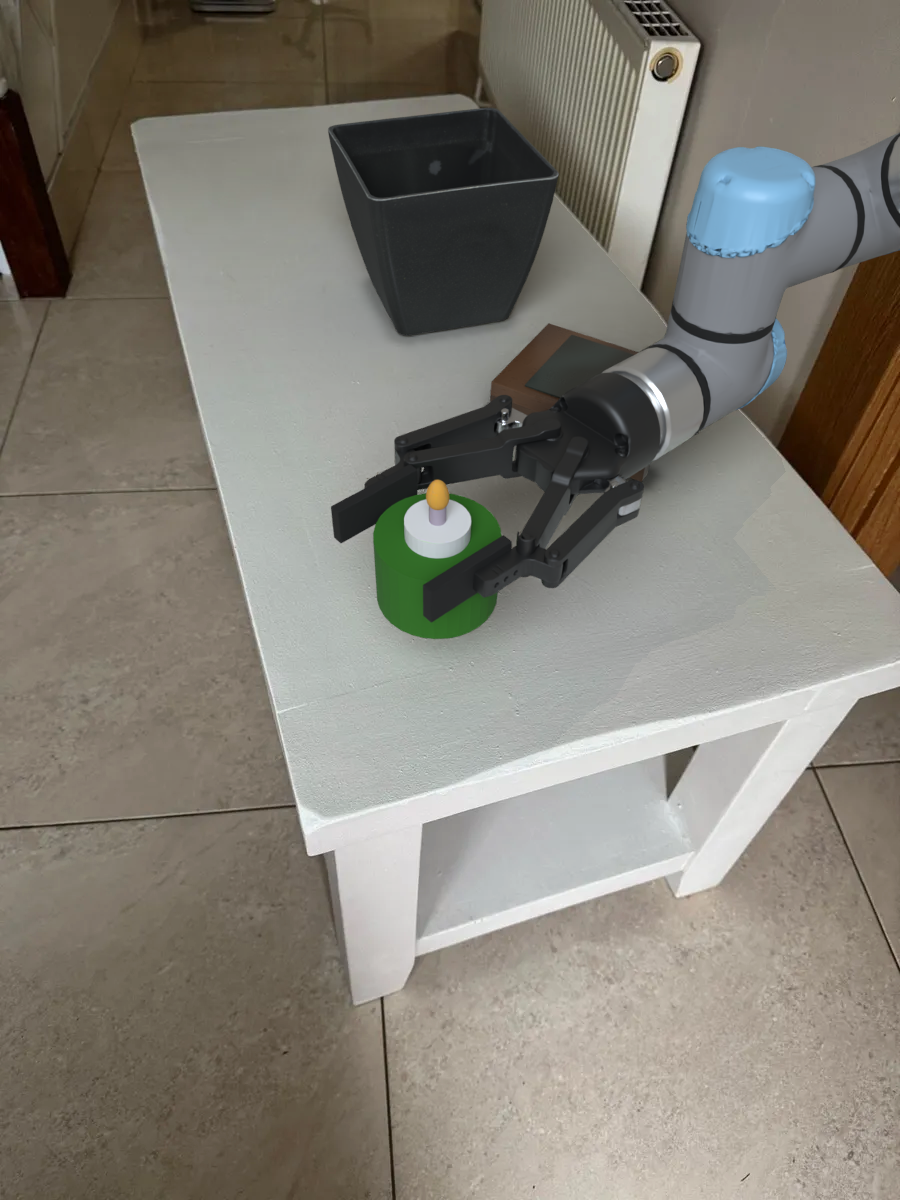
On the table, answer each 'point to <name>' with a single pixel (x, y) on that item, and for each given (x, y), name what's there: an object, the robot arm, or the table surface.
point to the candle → (430, 559)
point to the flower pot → (444, 213)
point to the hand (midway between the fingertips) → (380, 563)
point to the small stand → (556, 370)
